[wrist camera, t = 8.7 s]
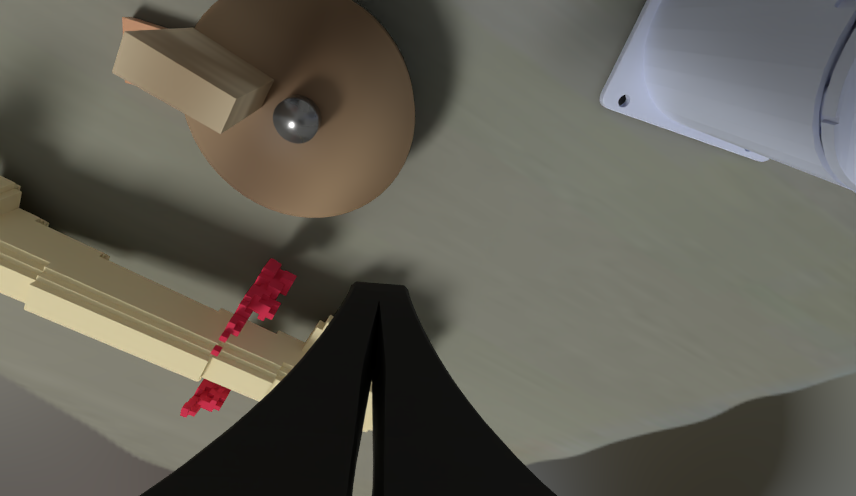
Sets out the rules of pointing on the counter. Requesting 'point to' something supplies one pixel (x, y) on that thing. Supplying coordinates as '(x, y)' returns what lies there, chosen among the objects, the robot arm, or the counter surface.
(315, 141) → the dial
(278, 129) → the pivot pin
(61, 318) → the toy vehicle
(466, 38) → the counter surface
